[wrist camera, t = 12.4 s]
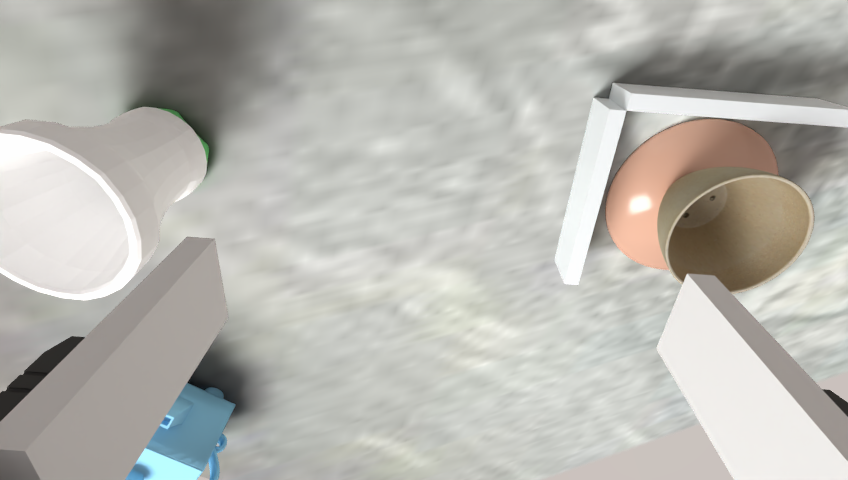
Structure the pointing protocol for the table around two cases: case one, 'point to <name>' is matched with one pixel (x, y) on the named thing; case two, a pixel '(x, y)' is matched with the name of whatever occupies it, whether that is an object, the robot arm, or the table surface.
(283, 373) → the table surface
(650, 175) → the coaster
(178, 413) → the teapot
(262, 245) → the table surface
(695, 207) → the flower pot
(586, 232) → the acrylic walls
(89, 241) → the cup
